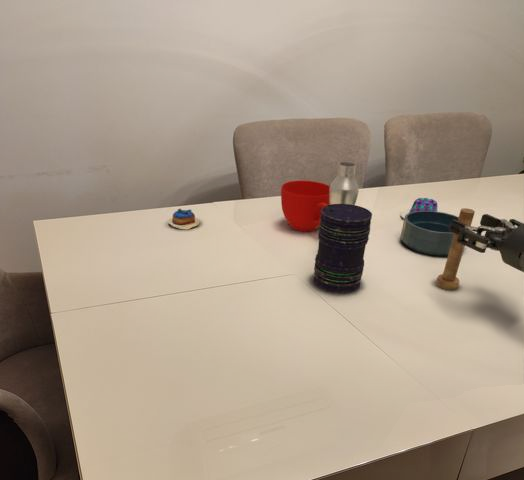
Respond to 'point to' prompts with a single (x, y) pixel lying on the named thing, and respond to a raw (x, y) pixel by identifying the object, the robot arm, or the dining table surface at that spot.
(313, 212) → the ceramic cup
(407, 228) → the bowl
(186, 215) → the dessert
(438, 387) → the dining table surface
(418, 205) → the purple patterned hat
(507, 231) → the robot arm
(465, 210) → the stirring stick
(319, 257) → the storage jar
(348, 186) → the silver bottle
